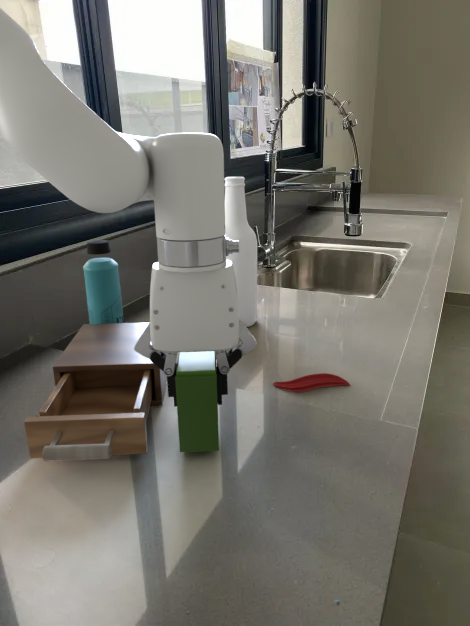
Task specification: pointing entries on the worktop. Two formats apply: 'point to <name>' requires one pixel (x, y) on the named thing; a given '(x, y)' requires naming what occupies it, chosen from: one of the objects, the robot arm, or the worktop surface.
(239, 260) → the alcohol
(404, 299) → the worktop surface
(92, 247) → the beverage bottle
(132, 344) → the cabinet
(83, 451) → the drawer
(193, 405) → the tall green carton
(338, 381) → the cayenne pepper
